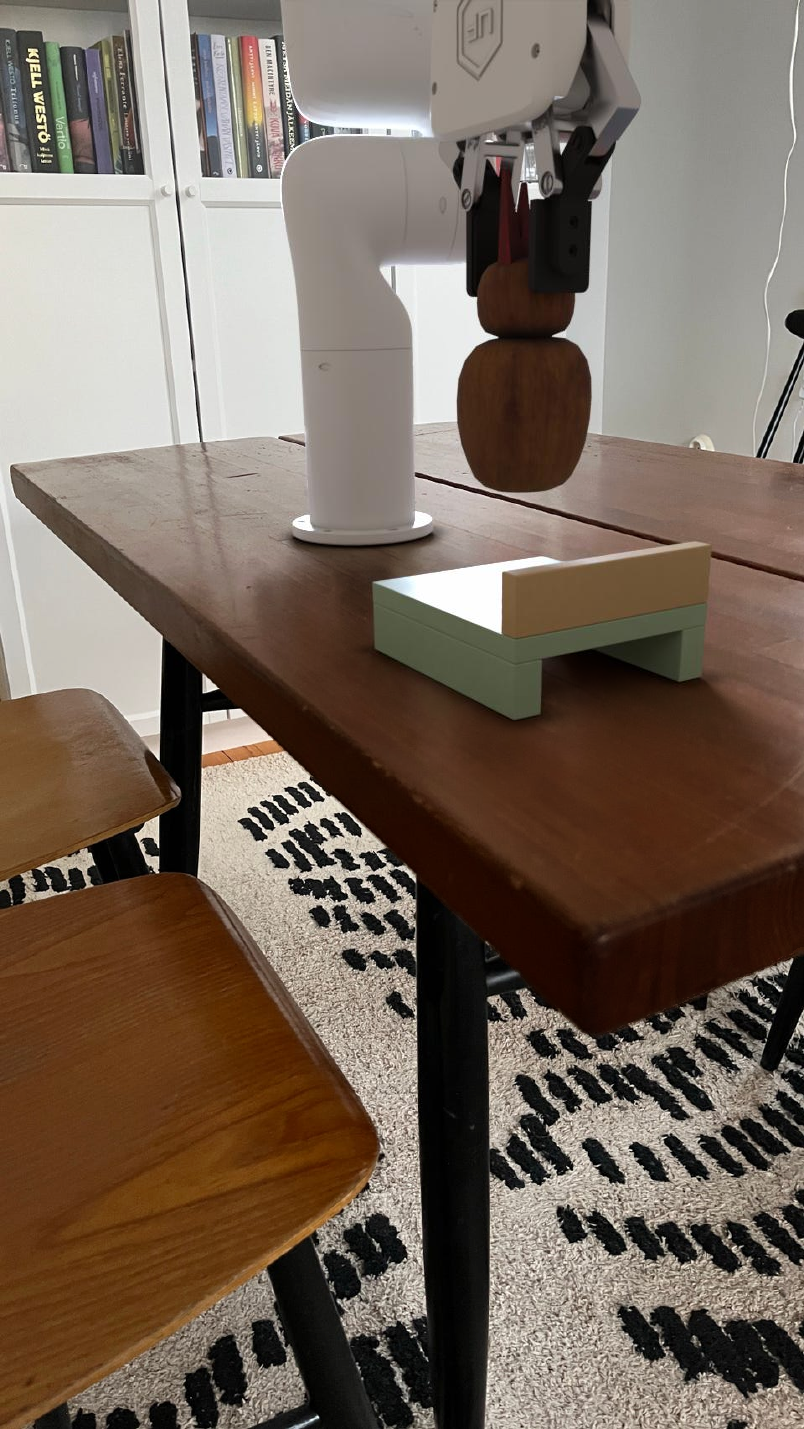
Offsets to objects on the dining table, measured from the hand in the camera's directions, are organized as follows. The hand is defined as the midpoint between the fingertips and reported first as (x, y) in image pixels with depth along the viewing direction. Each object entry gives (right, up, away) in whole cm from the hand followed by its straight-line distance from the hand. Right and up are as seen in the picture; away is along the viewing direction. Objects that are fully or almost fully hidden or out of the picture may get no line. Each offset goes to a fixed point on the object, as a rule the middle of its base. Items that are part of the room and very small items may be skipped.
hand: (525, 290), depth 52 cm
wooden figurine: (0, -9, +3) cm, 10 cm away
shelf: (+1, -18, +6) cm, 19 cm away
